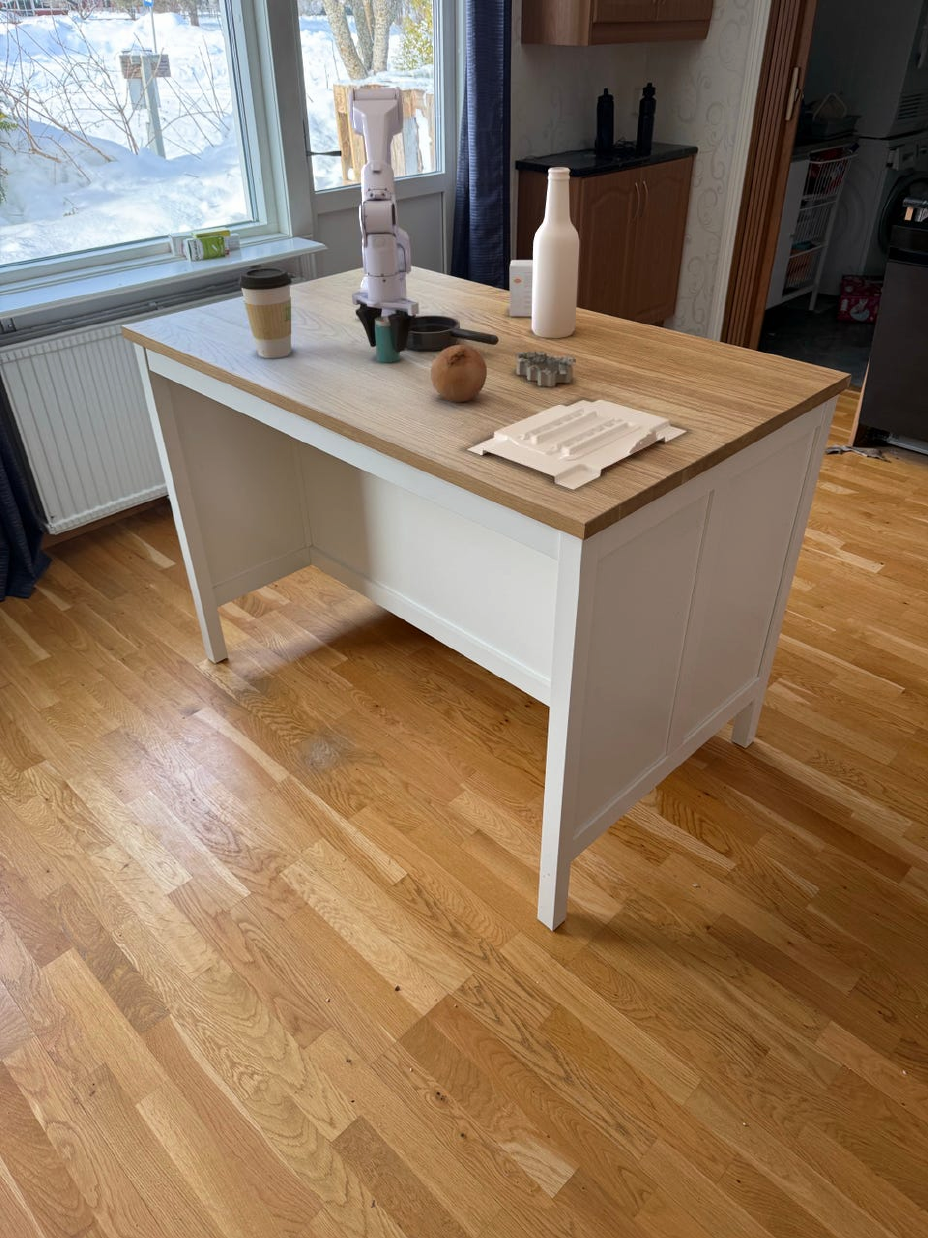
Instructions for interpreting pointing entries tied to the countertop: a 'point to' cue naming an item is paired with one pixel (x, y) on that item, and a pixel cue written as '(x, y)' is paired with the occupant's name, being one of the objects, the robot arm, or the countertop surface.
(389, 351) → the salt shaker
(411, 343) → the pan
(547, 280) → the alcohol
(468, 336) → the pan handle
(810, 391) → the countertop surface
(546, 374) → the egg carton
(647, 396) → the countertop surface
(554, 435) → the tray
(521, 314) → the small box
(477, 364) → the onion
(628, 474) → the countertop surface
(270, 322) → the coffee cup
